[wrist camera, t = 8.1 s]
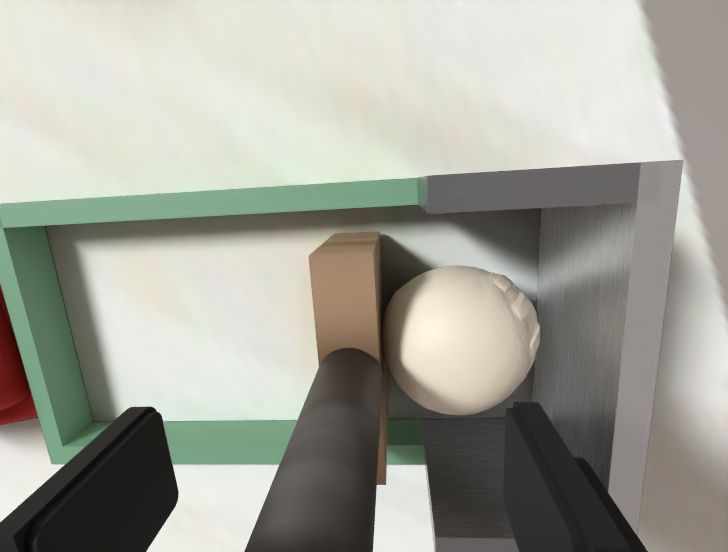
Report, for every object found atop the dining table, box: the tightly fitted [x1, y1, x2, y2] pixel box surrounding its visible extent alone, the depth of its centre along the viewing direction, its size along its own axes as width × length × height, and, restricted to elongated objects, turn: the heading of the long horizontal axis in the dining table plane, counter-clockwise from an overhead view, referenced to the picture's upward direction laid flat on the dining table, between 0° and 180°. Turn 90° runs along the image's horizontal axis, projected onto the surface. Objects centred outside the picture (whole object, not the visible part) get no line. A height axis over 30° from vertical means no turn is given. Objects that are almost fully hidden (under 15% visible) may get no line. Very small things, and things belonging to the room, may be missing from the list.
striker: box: [245, 232, 388, 552], centre depth 15 cm, size 10×3×14 cm, turn 4°
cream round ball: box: [382, 266, 540, 415], centre depth 18 cm, size 7×7×7 cm
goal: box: [417, 160, 683, 552], centre depth 18 cm, size 15×8×8 cm, turn 4°
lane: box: [0, 178, 425, 465], centre depth 22 cm, size 15×22×2 cm
